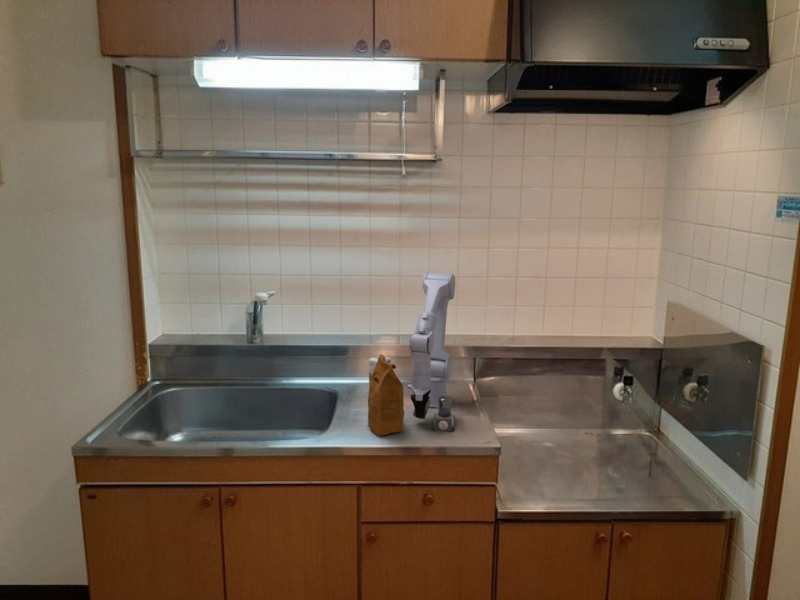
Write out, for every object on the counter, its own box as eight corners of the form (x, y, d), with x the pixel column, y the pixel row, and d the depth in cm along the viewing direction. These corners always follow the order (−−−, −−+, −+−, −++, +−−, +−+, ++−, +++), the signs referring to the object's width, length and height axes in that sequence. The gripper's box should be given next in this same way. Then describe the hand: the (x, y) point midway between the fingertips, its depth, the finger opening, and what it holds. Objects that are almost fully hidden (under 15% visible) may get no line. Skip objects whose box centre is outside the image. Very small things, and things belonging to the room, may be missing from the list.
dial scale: (434, 417, 187) (434, 406, 186) (455, 418, 186) (455, 407, 185) (432, 431, 176) (432, 420, 176) (454, 432, 176) (454, 421, 175)
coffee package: (394, 418, 186) (394, 351, 181) (407, 434, 174) (407, 363, 170) (364, 421, 183) (363, 354, 179) (374, 438, 171) (374, 366, 167)
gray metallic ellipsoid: (438, 412, 186) (438, 395, 185) (451, 412, 186) (451, 396, 185) (437, 417, 182) (438, 400, 181) (450, 417, 182) (451, 401, 181)
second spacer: (414, 411, 183) (419, 395, 182) (426, 415, 183) (431, 400, 181) (411, 415, 179) (417, 399, 178) (423, 420, 179) (429, 404, 177)
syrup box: (391, 397, 203) (391, 357, 200) (382, 403, 198) (382, 361, 195) (378, 394, 206) (378, 354, 203) (368, 399, 201) (368, 359, 198)
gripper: (410, 364, 185) (410, 404, 188) (405, 379, 171) (405, 423, 174) (432, 365, 185) (432, 405, 187) (429, 380, 171) (428, 424, 173)
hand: (420, 414), depth 181 cm, fingers closed on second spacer, 4 cm apart
